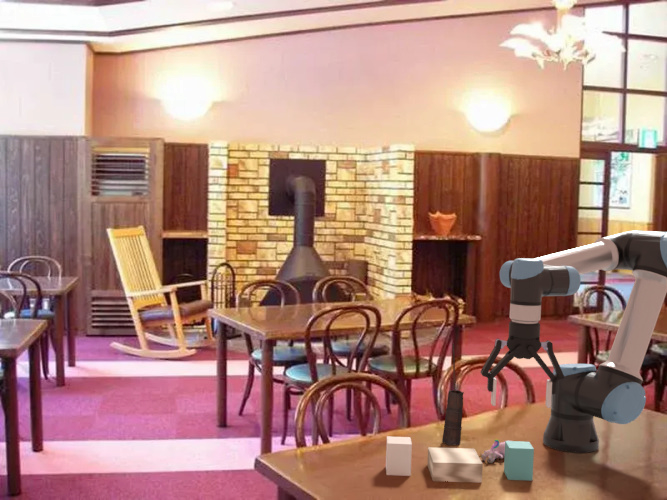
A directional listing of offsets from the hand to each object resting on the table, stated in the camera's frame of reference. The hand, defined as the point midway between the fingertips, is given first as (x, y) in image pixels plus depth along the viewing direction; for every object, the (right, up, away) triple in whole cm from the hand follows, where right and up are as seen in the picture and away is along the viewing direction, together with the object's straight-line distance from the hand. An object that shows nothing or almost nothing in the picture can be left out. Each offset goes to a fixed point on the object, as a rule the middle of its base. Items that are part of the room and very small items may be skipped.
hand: (520, 405), depth 207 cm
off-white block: (-30, -17, +2) cm, 35 cm away
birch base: (-16, -18, +2) cm, 24 cm away
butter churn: (-12, -16, +27) cm, 33 cm away
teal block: (0, -18, +1) cm, 18 cm away
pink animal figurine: (-2, -17, +15) cm, 23 cm away
